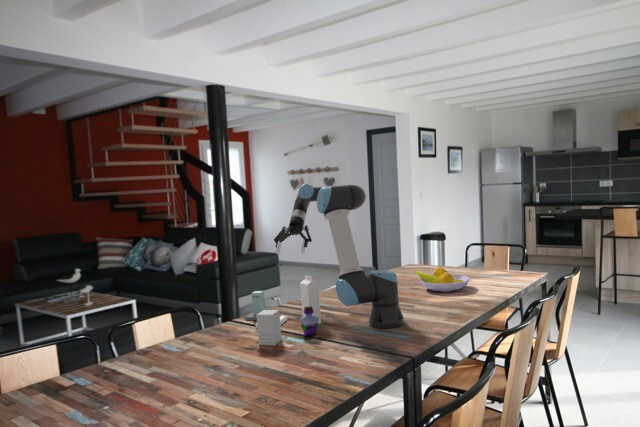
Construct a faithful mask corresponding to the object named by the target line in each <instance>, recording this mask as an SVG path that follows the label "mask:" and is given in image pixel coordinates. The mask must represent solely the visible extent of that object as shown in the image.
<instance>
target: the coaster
mask: <svg viewBox="0 0 640 427" xmlns="http://www.w3.org/2000/svg"><path fill="white" fill-rule="evenodd" d="M245 321H257V317H256V315H253V312H251V313H249V314H248V315H246V316H245Z"/></svg>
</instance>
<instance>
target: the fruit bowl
mask: <svg viewBox="0 0 640 427" xmlns="http://www.w3.org/2000/svg"><path fill="white" fill-rule="evenodd" d="M414 272H415V273H416V274H417V275H418V277H419V278H420V279H419V281H420V284H422V287H425V288H426V289H428V290H431V291H434V292H441V293H448V292H455V291H458V290H460V289H463V288H464V287H467V286H468V284H469V281H470V280H471V278H470V277H468V276H466V275H463V274H455V273H449V272H448V270H446V269H445V268H444V267H443V268H442V267H436V269H434V270H433V271H432V274H427V273H424V272H421V271H418V270H417V269H416V270H415V269H414Z"/></svg>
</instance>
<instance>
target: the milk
mask: <svg viewBox="0 0 640 427" xmlns="http://www.w3.org/2000/svg"><path fill="white" fill-rule="evenodd" d="M299 290H300V300H301V302H300V303H301V313H302V317H304V316H306V314H304V307H305V306H312V309H313V312H314V313H312V315H313V316H318V317H319V320H318V325H321V324H322V317H321V304H320V302H321V301H320V292H319V282H318V281H315V280H314V279H313V276H310V275H304V279H303V280H302V281H301V282H300V283H299Z"/></svg>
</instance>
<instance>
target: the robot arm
mask: <svg viewBox="0 0 640 427" xmlns="http://www.w3.org/2000/svg"><path fill="white" fill-rule="evenodd" d="M366 196H367V195H366V192H365V190H364V189H363V188H362V187H361V186H358V185H356V184H355V185H354V184H347V185H344V184H343V185H327V186H315V187H314V186H312V185H311V184H309V183H304V184H302V185H301V186H300V188H299V190H298V193H297V196H296V197H295V200H294V204H293V209H292V212H291V216H290V220H289V223H288V224H289V225H288V227H286V226H283V227H282V228H281V230H280V231H279V232H278V234H277V235H276V236H275V237H274V238H273V241H274V243H275V248H276V249H275V253H276V254H277V255H280V251H281V247H282V243H283V242H284V241H285V240H286V239H288V238H289V237H291V236H298V235H299V236H300V237H301V238H302V239H303V240H302V244H301V249H300V251H301V254H303V255H304V254H305V250H306V248H308V245H309V243H311V242H313V240H312V237H311V235H310V232H309V227H308V225H305V221H306V218H307V213H308V209H309V205H310V204H311V202H312V203H313V202H316V208H317V211H318V212H319V213H320V214H323V217H324V219H325V220H327V221H328V223H329V227H330V233H331V236H332V240H333V245H334V248H335V253H336V258H337V262H338V266H339V270H340V273H339V274H338V276H337V278H338V279H337V280H336V282H335V291H336V292H335V293H336V296H337V297H338V299H339V301H340V302H341V304H342V305H344V306H346V307H351V306H355V307H357V306H358V305H364V304H365V305H366V304H369V303H371V310H370V314H369V317H368V324H369V326H371V327H372V328H376V329H394V328H399V327H401V326H403V325H404V323H405V318H404V315H403V312H402V310H401V308H400V307H401V306H400V305H399V304H400V303H399V288H398V287H399V286H398V283H399V282H398V277H397V273H396V272H394V271H391V270H383V269H374V270H373V269H371V270H369V273H368V275H366V272H365V270H364V269H363V268H361V266H360V262H359V259H358V258H359V257H358V255H357V254H358V253H357V250H356V247H355V246H356V245H355V241H354V237H353V233H352V230H351V229H352V228H351V225H350V221H349V217H348V216H349V215H350V213H351V211H354V210H357V209H359V208H361V207H362V206H363V205H364V203H365V202H366V199H367V197H366ZM303 231H305V233H306V235H305V234H304V233H303ZM306 236H307V237H306Z"/></svg>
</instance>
